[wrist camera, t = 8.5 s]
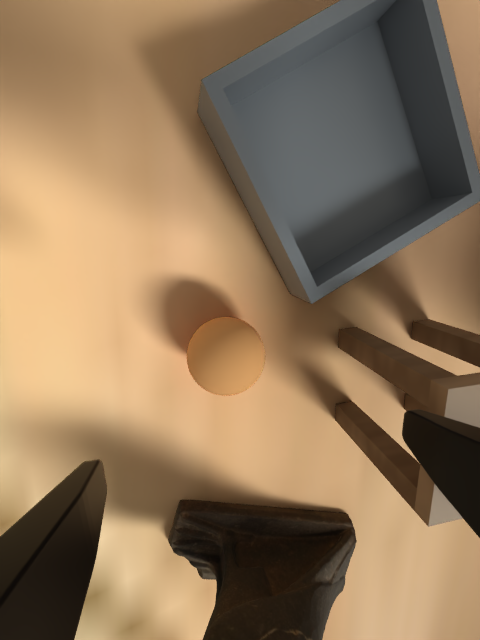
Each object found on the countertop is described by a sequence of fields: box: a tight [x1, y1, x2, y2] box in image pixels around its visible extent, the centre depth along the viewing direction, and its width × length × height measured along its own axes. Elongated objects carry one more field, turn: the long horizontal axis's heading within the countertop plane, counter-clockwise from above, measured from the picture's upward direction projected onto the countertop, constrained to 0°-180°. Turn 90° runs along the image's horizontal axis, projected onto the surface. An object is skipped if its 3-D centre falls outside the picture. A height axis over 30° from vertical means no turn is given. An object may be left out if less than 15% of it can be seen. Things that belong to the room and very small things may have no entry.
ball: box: [187, 317, 265, 396], centre depth 16 cm, size 4×4×4 cm
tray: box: [197, 0, 480, 304], centre depth 15 cm, size 10×10×3 cm
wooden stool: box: [335, 319, 480, 527], centre depth 16 cm, size 6×6×8 cm
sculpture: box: [168, 500, 356, 640], centre depth 16 cm, size 6×13×13 cm, turn 73°
